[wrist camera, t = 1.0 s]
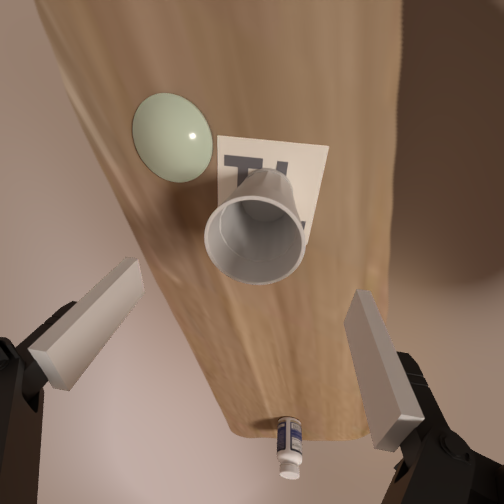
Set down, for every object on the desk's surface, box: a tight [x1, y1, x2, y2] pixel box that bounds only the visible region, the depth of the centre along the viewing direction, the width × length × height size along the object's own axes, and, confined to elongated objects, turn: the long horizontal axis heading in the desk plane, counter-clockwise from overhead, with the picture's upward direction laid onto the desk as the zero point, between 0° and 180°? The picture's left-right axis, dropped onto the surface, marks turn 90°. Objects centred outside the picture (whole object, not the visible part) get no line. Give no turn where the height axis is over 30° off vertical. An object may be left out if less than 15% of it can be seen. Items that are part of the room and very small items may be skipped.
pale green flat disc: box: [133, 93, 213, 182], centre depth 27 cm, size 9×9×1 cm
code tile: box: [217, 135, 329, 244], centre depth 29 cm, size 12×12×1 cm
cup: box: [204, 168, 306, 285], centre depth 24 cm, size 8×8×12 cm
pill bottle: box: [277, 417, 302, 479], centre depth 53 cm, size 5×5×10 cm
